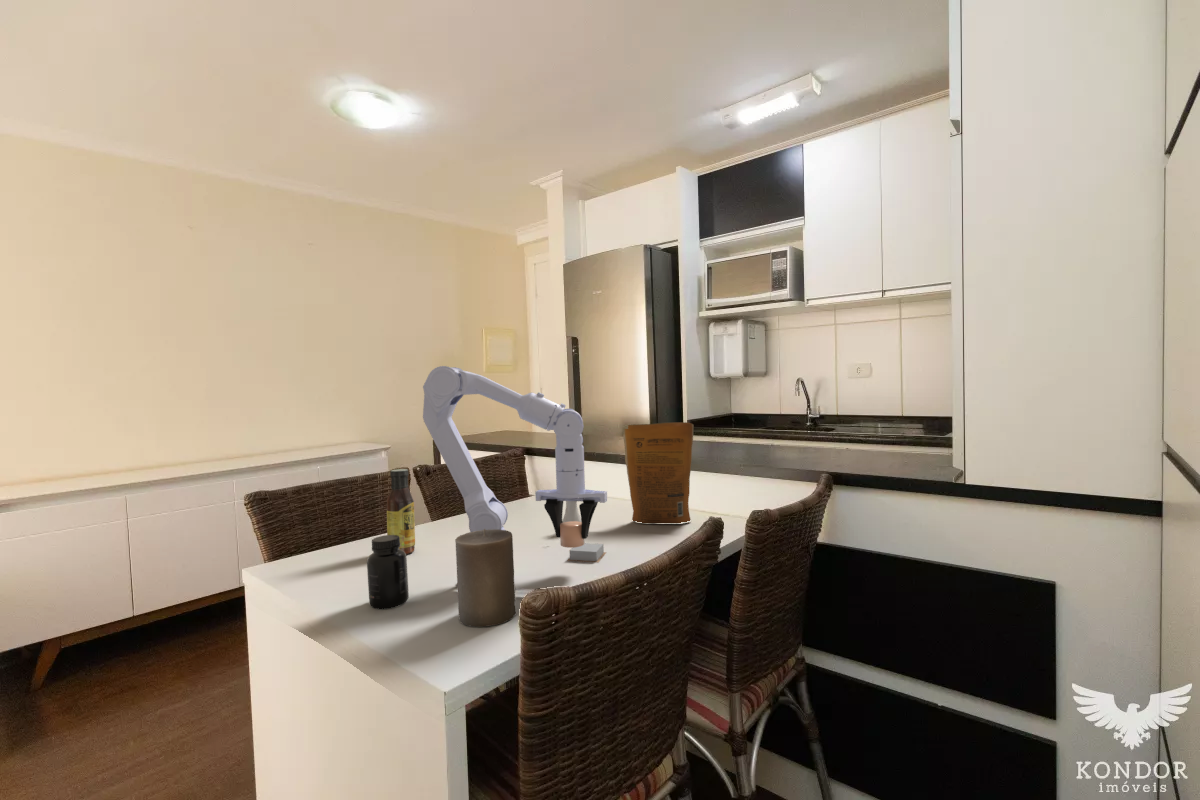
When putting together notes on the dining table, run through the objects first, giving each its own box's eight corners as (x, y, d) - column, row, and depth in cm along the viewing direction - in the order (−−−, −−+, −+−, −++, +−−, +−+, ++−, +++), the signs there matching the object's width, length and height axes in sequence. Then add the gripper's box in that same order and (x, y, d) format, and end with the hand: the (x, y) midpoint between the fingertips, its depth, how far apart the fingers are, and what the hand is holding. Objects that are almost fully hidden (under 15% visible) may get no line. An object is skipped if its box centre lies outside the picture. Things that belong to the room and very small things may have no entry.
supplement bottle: (396, 592, 107) (393, 531, 106) (416, 601, 102) (413, 536, 102) (361, 604, 101) (358, 539, 101) (381, 613, 97) (378, 545, 97)
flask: (574, 541, 138) (573, 501, 138) (552, 537, 142) (551, 498, 142) (592, 535, 144) (591, 496, 143) (570, 531, 148) (569, 494, 148)
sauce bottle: (410, 556, 129) (406, 471, 129) (383, 557, 130) (380, 472, 129) (419, 548, 136) (416, 467, 135) (394, 548, 136) (391, 468, 136)
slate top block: (596, 561, 118) (596, 551, 118) (569, 559, 119) (569, 550, 119) (603, 552, 124) (603, 543, 124) (577, 551, 125) (577, 542, 125)
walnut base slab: (598, 571, 117) (598, 562, 117) (567, 569, 119) (566, 560, 119) (606, 561, 124) (606, 552, 124) (576, 559, 126) (576, 550, 126)
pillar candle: (527, 613, 95) (524, 526, 95) (480, 633, 88) (477, 539, 88) (492, 600, 102) (489, 519, 101) (446, 618, 94) (442, 530, 94)
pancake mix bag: (695, 527, 148) (693, 422, 147) (625, 525, 152) (622, 423, 151) (696, 520, 155) (694, 420, 154) (628, 519, 159) (626, 421, 158)
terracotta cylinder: (570, 549, 108) (569, 528, 108) (555, 544, 112) (555, 524, 112) (589, 543, 111) (588, 524, 111) (574, 539, 115) (573, 520, 115)
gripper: (610, 466, 113) (612, 532, 114) (543, 466, 117) (545, 530, 117) (601, 472, 106) (603, 542, 107) (530, 471, 110) (532, 539, 111)
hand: (572, 536), depth 112 cm, fingers closed on terracotta cylinder, 5 cm apart
